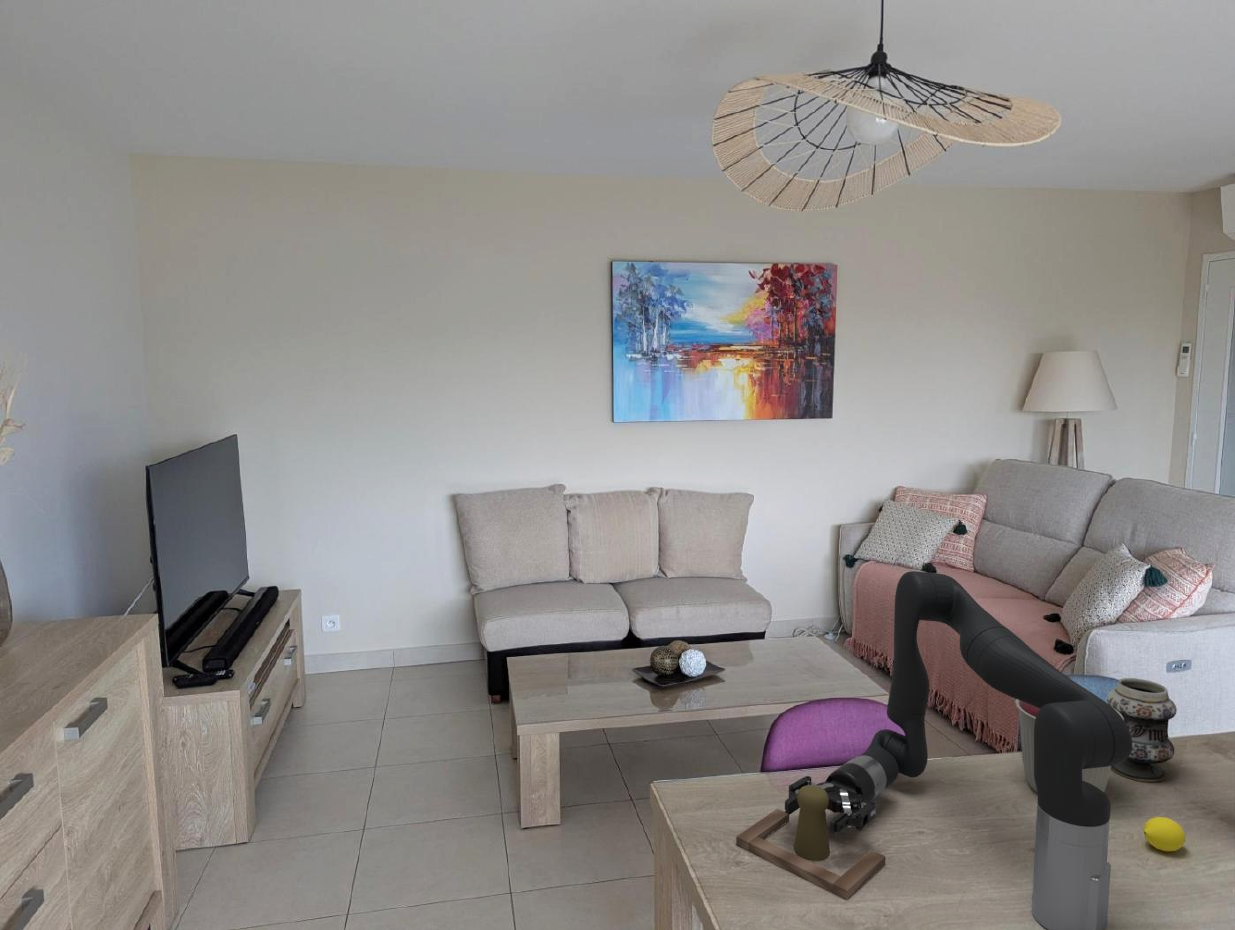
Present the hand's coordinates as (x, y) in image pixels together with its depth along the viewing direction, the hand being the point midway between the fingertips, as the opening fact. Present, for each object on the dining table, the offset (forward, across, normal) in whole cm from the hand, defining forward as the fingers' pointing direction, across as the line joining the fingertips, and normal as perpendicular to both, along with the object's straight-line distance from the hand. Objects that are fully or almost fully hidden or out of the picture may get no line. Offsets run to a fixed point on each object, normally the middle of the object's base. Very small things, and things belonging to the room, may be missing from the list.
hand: (808, 818), depth 135 cm
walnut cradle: (0, 0, +7) cm, 7 cm away
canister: (-53, +24, +7) cm, 58 cm away
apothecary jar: (-72, +32, +7) cm, 79 cm away
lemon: (-44, +42, +7) cm, 61 cm away
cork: (-2, 0, +7) cm, 7 cm away
